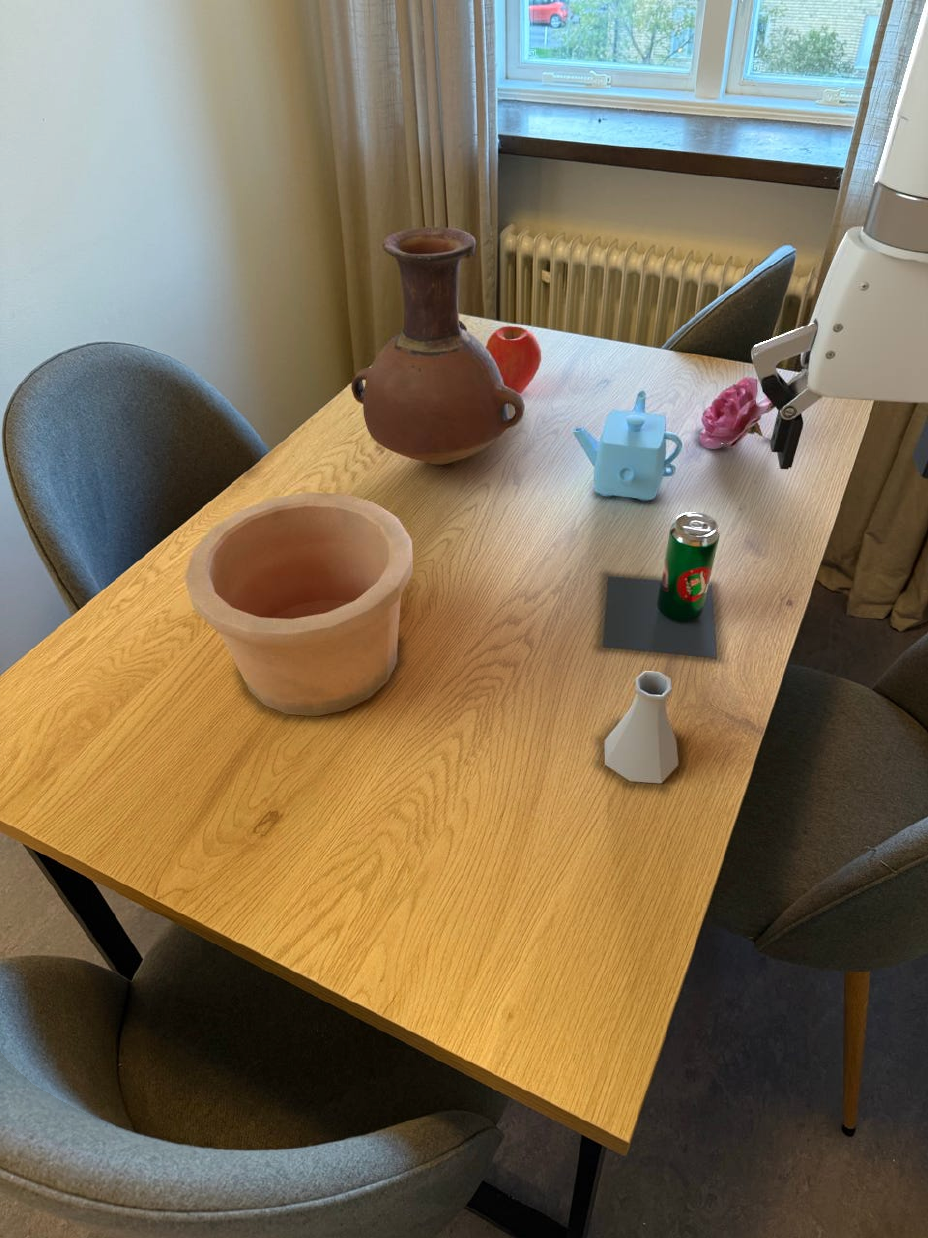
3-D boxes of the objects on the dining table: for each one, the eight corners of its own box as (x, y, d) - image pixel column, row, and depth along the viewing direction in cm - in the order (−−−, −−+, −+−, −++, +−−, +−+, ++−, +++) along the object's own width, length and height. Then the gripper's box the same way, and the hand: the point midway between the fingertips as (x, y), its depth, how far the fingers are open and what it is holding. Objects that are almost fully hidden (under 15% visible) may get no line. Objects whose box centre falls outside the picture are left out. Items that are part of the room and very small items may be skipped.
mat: (711, 586, 97) (711, 584, 97) (716, 659, 89) (716, 657, 89) (607, 577, 99) (607, 575, 99) (602, 647, 90) (602, 646, 90)
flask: (592, 770, 79) (601, 699, 72) (615, 716, 83) (625, 645, 77) (667, 796, 76) (684, 726, 69) (687, 739, 81) (704, 668, 74)
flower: (695, 471, 121) (674, 404, 119) (735, 450, 126) (716, 386, 124) (762, 455, 111) (740, 383, 109) (802, 434, 116) (782, 364, 114)
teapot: (669, 529, 105) (681, 460, 99) (559, 515, 108) (563, 447, 101) (679, 454, 118) (690, 389, 111) (580, 443, 121) (585, 379, 114)
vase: (537, 432, 124) (544, 218, 103) (508, 509, 110) (509, 279, 89) (379, 415, 129) (357, 208, 108) (332, 486, 115) (296, 264, 94)
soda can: (663, 590, 97) (678, 505, 88) (706, 602, 95) (726, 516, 87) (650, 617, 93) (665, 531, 85) (695, 630, 92) (715, 544, 84)
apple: (546, 386, 134) (549, 320, 126) (529, 411, 128) (530, 344, 121) (496, 378, 136) (496, 313, 129) (477, 402, 131) (476, 336, 123)
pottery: (353, 767, 80) (333, 663, 70) (176, 694, 87) (135, 590, 78) (456, 626, 94) (451, 522, 84) (295, 573, 101) (274, 473, 91)
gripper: (1071, 199, 51) (964, 444, 62) (776, 193, 53) (726, 430, 65) (1119, 242, 45) (992, 502, 57) (789, 234, 48) (732, 484, 60)
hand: (851, 463), depth 61 cm, fingers open, 9 cm apart
